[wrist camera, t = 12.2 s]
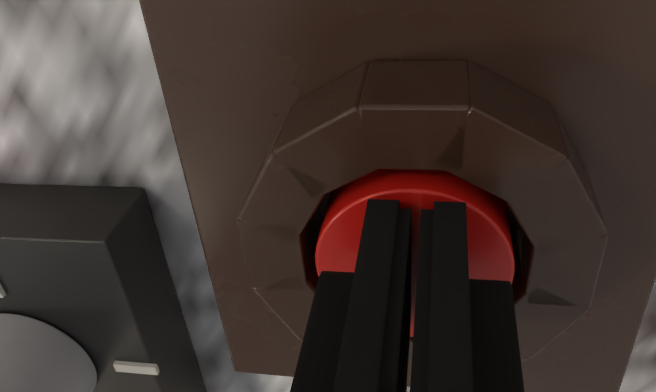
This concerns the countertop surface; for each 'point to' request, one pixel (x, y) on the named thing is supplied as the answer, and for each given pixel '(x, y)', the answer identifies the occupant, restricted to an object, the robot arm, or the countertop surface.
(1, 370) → the dial
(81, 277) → the knob
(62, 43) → the countertop surface
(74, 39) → the countertop surface
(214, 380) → the countertop surface
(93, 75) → the countertop surface
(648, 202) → the power button base
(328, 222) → the power button
